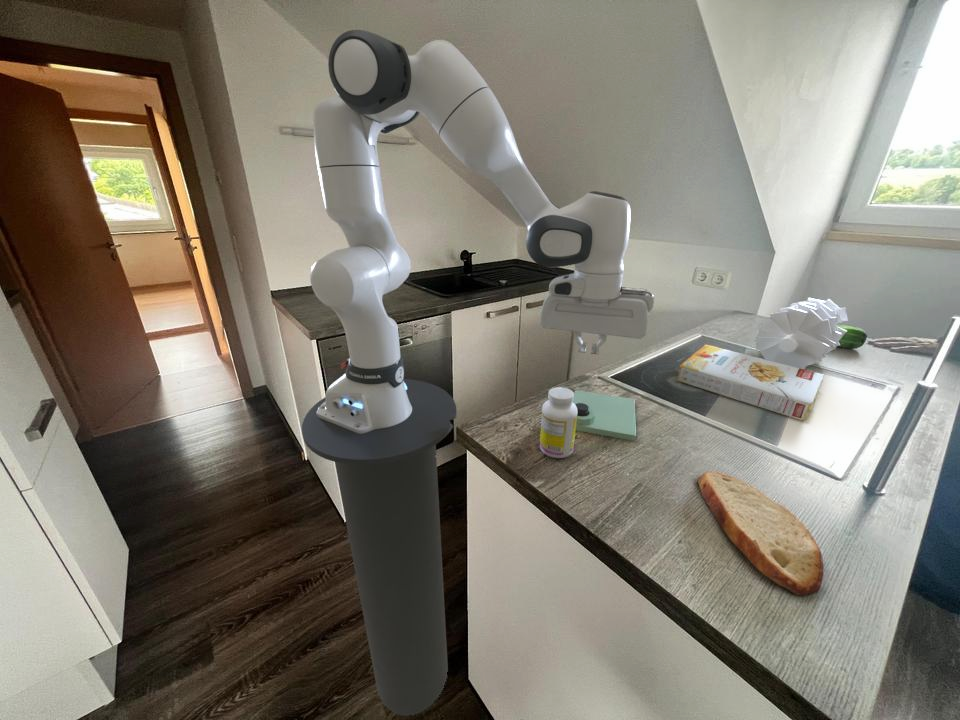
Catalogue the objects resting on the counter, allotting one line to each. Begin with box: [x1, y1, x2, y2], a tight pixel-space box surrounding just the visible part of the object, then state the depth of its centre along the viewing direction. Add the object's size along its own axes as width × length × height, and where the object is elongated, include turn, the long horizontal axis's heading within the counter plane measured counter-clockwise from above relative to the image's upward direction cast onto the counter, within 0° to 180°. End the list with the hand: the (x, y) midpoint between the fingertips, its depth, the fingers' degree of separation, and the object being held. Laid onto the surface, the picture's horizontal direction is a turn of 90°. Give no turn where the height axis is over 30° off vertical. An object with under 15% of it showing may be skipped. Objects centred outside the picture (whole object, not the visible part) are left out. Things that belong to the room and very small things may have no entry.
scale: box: [573, 389, 637, 442], centre depth 88 cm, size 14×16×3 cm
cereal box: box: [676, 343, 825, 422], centre depth 101 cm, size 20×6×28 cm
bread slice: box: [697, 471, 825, 597], centre depth 59 cm, size 18×18×4 cm
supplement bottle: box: [539, 386, 578, 459], centre depth 75 cm, size 7×7×13 cm
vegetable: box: [836, 325, 868, 350], centre depth 129 cm, size 7×7×20 cm
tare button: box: [575, 403, 589, 416], centre depth 84 cm, size 3×3×2 cm
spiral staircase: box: [754, 297, 849, 370], centre depth 115 cm, size 18×18×25 cm
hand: (588, 352), depth 79 cm, fingers closed
